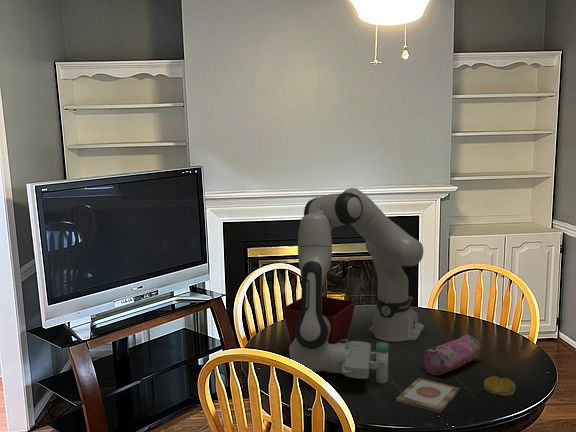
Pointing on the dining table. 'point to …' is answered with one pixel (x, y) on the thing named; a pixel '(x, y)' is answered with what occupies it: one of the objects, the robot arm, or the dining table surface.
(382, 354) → the marker
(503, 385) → the bread roll
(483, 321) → the dining table surface
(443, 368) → the pencil case
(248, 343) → the dining table surface
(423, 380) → the picture frame
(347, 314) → the plant pot
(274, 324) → the dining table surface
